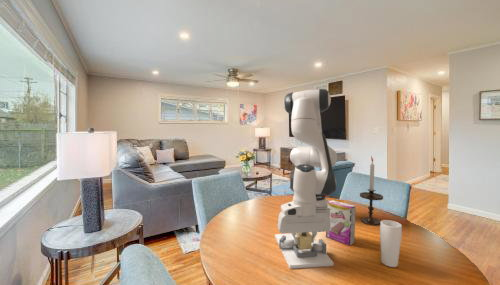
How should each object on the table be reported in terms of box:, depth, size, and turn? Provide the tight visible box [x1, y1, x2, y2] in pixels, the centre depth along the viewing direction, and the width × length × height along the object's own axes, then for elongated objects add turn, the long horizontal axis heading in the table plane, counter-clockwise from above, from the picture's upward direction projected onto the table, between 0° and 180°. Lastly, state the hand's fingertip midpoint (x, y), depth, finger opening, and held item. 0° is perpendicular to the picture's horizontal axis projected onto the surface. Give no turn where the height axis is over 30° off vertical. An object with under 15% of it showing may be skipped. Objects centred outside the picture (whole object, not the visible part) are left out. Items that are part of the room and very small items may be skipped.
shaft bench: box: [274, 232, 334, 269], centre depth 93 cm, size 17×24×5 cm
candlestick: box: [359, 155, 384, 227], centre depth 121 cm, size 11×11×35 cm
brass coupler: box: [296, 232, 312, 250], centre depth 89 cm, size 4×4×6 cm
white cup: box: [379, 219, 403, 268], centre depth 84 cm, size 7×7×15 cm
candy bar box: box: [325, 199, 357, 247], centre depth 101 cm, size 11×5×16 cm, turn 44°
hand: (303, 242), depth 89 cm, fingers closed on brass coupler, 4 cm apart
